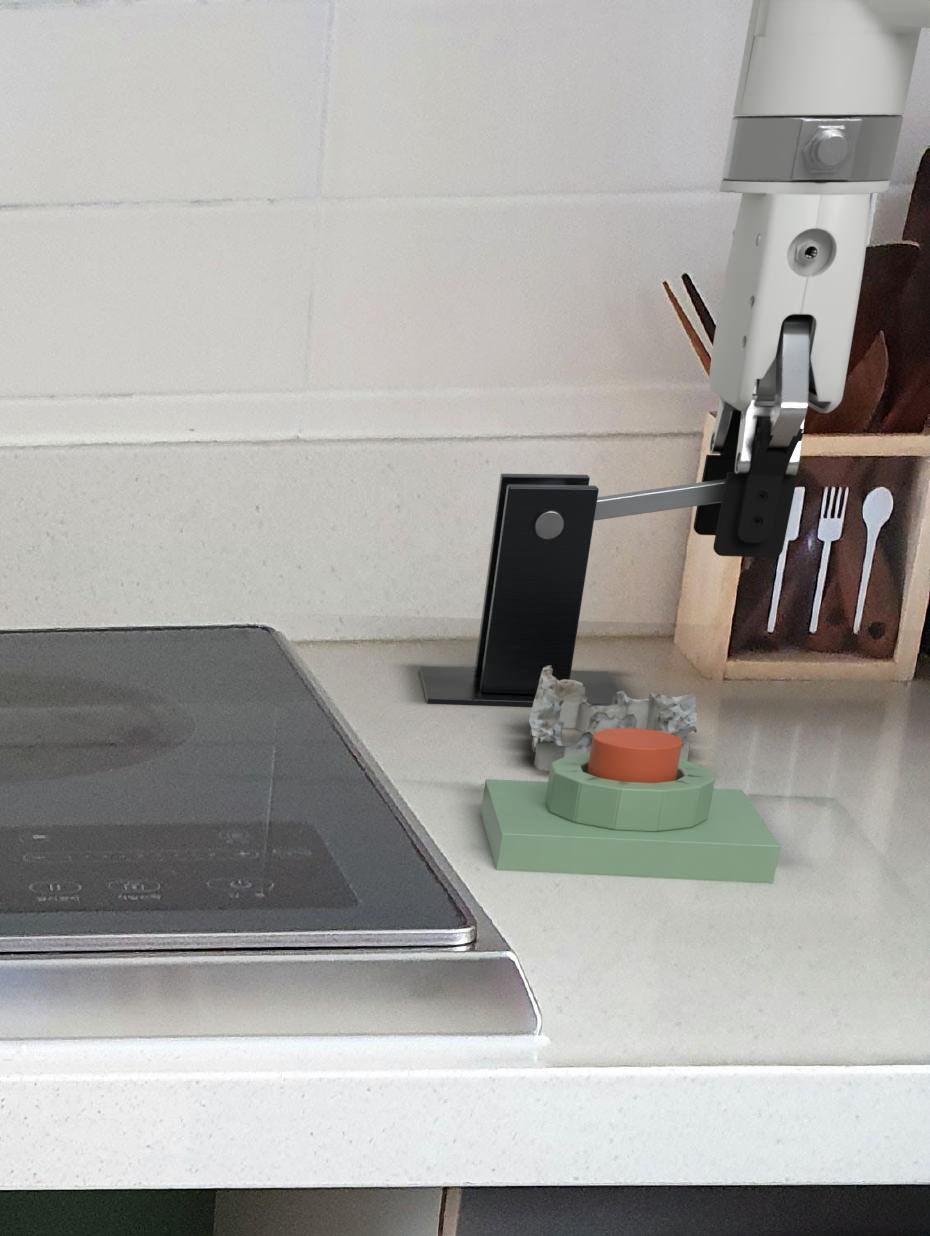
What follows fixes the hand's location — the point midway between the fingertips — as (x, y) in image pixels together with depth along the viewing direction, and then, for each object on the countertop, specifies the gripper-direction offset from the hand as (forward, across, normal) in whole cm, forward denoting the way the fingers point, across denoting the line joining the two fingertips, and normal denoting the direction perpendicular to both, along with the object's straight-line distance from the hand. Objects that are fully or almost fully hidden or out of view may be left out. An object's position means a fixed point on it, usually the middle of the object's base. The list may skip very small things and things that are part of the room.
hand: (736, 541), depth 118 cm
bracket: (+9, 0, +10) cm, 13 cm away
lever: (-1, 0, +5) cm, 5 cm away
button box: (+9, -27, +8) cm, 29 cm away
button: (+6, -27, +8) cm, 29 cm away
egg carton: (+9, -14, +7) cm, 18 cm away
